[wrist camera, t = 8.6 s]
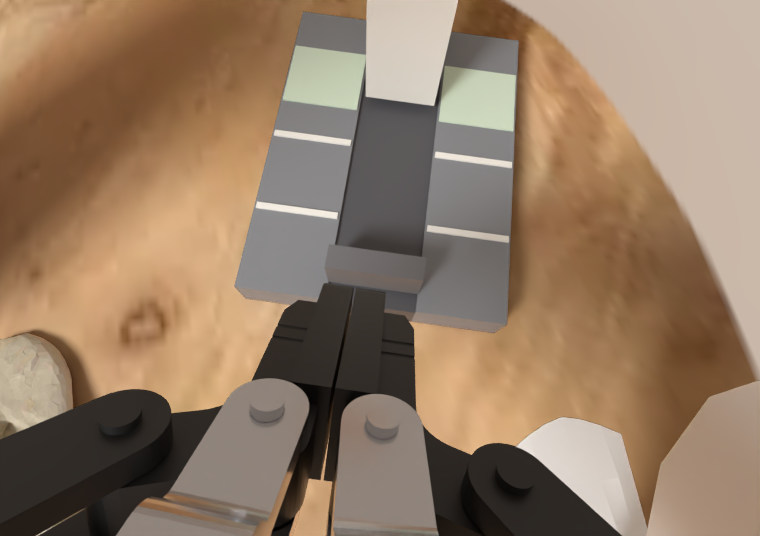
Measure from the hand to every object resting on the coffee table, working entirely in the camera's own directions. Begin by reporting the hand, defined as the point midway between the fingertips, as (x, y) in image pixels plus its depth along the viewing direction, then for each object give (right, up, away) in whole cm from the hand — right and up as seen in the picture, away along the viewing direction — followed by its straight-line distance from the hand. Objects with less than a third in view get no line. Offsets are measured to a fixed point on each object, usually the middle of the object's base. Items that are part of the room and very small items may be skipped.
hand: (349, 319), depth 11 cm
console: (+1, +6, +13) cm, 15 cm away
